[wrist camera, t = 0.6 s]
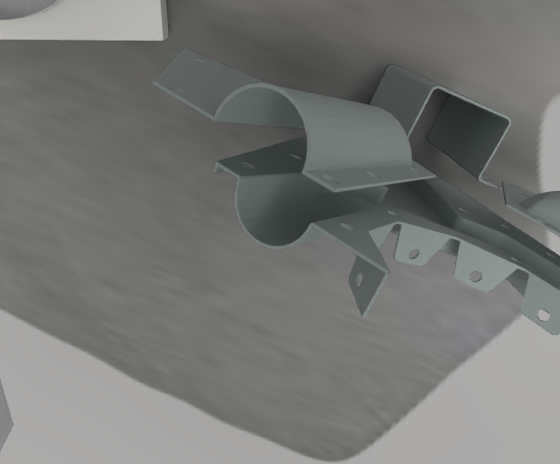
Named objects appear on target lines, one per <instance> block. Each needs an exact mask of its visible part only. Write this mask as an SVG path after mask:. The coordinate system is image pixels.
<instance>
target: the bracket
mask: <svg viewBox="0 0 560 464" xmlns="http://www.w3.org/2000/svg"><path fill="white" fill-rule="evenodd" d="M153 85H155V86H157V87H158V88H160V89H162V90H163V91H165V92H167V93H168V94H170V95H172V96H173V97H175V98H177V99H178V100H180V101H182V102H183V103H185V104H187V105H188V106H190V107H192V108H193V109H195V110H197V111H198V112H200V113H202V114H203V115H205V116H207V117H208V118H210V119H212V120H213V121H215V122H226V123H238V124H250V125H262V126H274V127H286V128H298V129H305V131H306V136H303V137H300V138H296V139H293V140H289V141H286V142H282V143H279V144H275V145H272V146H269V147H265V148H262V149H258V150H255V151H251V152H248V153H244V154H241V155H237V156H234V157H230V158H227V159H224V160H220V161H217V162H216V165H215V167H214V170H213V173H214V174H216V173H219V172H222V171H227V172H229V173H230V174H232V175H233V176H235V177H236V178H238V180H237V184H236V187H235V196H234V201H235V210H236V214H237V217H238V219H239V222H240V224H241V227H242V228H243V229H244V231H245V232H246V233H247V235H248V236H249V237H250V238H251V239H252V240H254V241H255V242H256V243H258V244H260V245H261V246H263V247H266V248H269V249H277V250H278V249H286V248H289V247H293V246H296V245H299V244H303V243H306V242H309V241H312V240H316V239H319V238H322V237H326V236H328V237H330V238H332V239H333V240H335V241H336V242H338V243H339V244H341V245H342V246H344V247H346V248H347V249H349V250H350V251H352V252H353V253H355V254H357V258H356V260H355V263H354V266H353V268H352V271H351V274H350V277H349V284H350V286H351V289H352V292H353V294H354V297H355V300H356V302H357V305H358V308H359V310H360V313H361V316H362V317H364V318H365V317H366V315H367V313H368V312H369V310H370V308H371V306H372V305H373V303H374V301H375V299H376V297H377V296H378V294H379V292H380V290H381V288H382V287H383V285H384V283H385V281H386V279H387V278H388V276H389V274H390V270H389V269H388V267H387V265H386V263H385V261H384V259H383V257H382V256H381V254H380V252H379V248H380V247H381V245H382V243H383V242H384V240H385V239H386V237H387V236H388V234H389V232H392V233H394V234H397V235H398V238H397V242H396V247H395V251H394V255H393V257H394V259H395V260H396V261H399V262H403V263H408V264H412V265H416V266H423V265H425V264H426V263H427V262H428V261H429V260H430V259H431V258H432V257H433V256H434V254H435V253H436V252H437V251H438V250H440V251H443V252H446V253H448V254H451V255H454V256H456V257H457V259H456V263H455V268H454V277H455V278H456V279H457V280H459V281H461V282H463V283H465V284H467V285H469V286H472V287H474V288H476V289H478V290H480V291H483V292H489V291H490V290H492V289H493V288H494V287H495V286H497V285H498V284H499V283H500V282H502V281H503V280H504V279H507V280H508V281H509V282H510V283H511V284H512V285H513V286H514V287H515V288H516V289H517V290H518V292H519V293H520V294H521V295H522V296H523V297H524V298H523V302H522V306H521V312H522V314H523V315H524V316H526V317H527V318H529V319H530V320H532V321H533V322H535V323H536V324H537V325H539V326H540V327H542V328H543V329H545V330H546V331H547V332H549V333H550V334H552V335H558V334H559V333H560V256H559V255H558V254H556V253H555V252H553V251H552V250H550V249H549V248H547V247H545V246H544V245H542V244H541V243H539V242H538V241H536V240H535V239H533V238H532V237H530V236H529V235H527V234H526V233H524V232H522V231H521V230H519V229H518V228H516V227H515V226H513V225H512V224H510V223H509V222H507V221H506V220H504V219H503V218H501V217H500V216H498V215H496V214H495V213H493V212H492V211H490V210H489V209H487V208H486V207H484V206H483V205H481V204H480V203H478V202H477V201H475V200H473V199H472V198H470V197H469V196H467V195H466V194H464V193H463V192H461V191H460V190H458V189H457V188H455V187H454V186H452V185H451V184H449V183H447V182H446V181H444V180H443V179H441V178H440V177H438V176H436V175H435V174H434V173H432V172H431V171H429V170H427V169H426V168H424V167H423V166H421V165H420V164H418V163H416V162H415V161H413V160H412V153H411V147H410V143H409V141H408V138H409V136H410V134H411V132H412V130H413V128H414V126H415V125H416V123H417V121H418V119H419V117H420V115H421V113H422V111H423V109H424V107H425V105H426V103H427V102H428V100H429V98H430V96H431V94H432V92H433V90H435V89H438V88H439V89H441V90H443V91H445V92H448V93H449V94H450V95H449V96H448V98H447V100H446V102H445V104H444V106H443V108H442V110H441V112H440V114H439V116H438V118H437V120H436V121H435V123H434V125H433V127H432V129H431V131H430V133H429V135H428V137H427V138H428V141H430V142H431V143H432V144H433V145H435V146H436V147H437V148H438V149H440V150H441V151H442V152H443V153H445V154H446V155H447V156H449V157H450V158H451V159H452V160H454V161H455V162H456V163H457V164H459V165H460V166H461V167H462V168H464V169H465V170H466V171H468V172H469V173H470V174H471V175H473V176H474V177H475V178H476V179H478V180H479V181H480V182H482V183H485V184H487V185H490V186H492V187H494V188H497V189H499V188H500V187H499V186H497V185H496V184H495V183H493V182H492V181H491V180H489V179H488V178H487V177H485V176H484V175H483V173H484V171H485V169H486V167H487V166H488V164H489V162H490V160H491V159H492V157H493V155H494V153H495V152H496V150H497V148H498V146H499V145H500V143H501V141H502V140H503V138H504V136H505V134H506V133H507V131H508V129H509V127H510V126H511V119H510V118H509V117H507V116H505V115H503V114H501V113H499V112H497V111H494V110H492V109H490V108H488V107H486V106H484V105H482V104H480V103H478V102H475V101H473V100H471V99H469V98H467V97H465V96H463V95H461V94H458V93H456V92H454V91H452V90H450V89H448V88H446V87H443V86H441V85H439V84H437V83H434V82H432V81H430V80H428V79H425V78H423V77H421V76H419V75H416V74H414V73H412V72H410V71H407V70H405V69H403V68H401V67H399V66H396V65H394V64H391V65H389V66H388V67H387V69H386V71H385V73H384V75H383V77H382V79H381V81H380V83H379V85H378V87H377V89H376V91H375V94H374V96H373V98H372V100H371V102H370V104H369V105H367V104H363V103H359V102H354V101H349V100H344V99H339V98H334V97H329V96H325V95H320V94H315V93H310V92H305V91H300V90H295V89H290V88H285V87H280V86H275V85H272V84H269V83H267V82H265V81H262V80H260V79H257V78H255V77H253V76H250V75H248V74H245V73H243V72H240V71H238V70H236V69H233V68H231V67H228V66H226V65H224V64H221V63H219V62H216V61H214V60H212V59H209V58H207V57H204V56H202V55H200V54H197V53H195V52H192V51H190V50H188V49H185V48H184V49H183V50H182V51H181V52H180V53H179V54H178V55H177V56H176V57H175V58H174V60H173V61H172V62H171V63H170V64H169V65H168V66H167V67H166V68H165V69H164V70H163V72H162V73H161V74H160V75H159V76H158V77H157V78H156V79H155V80H154V82H153ZM294 157H295V158H294ZM244 165H246V166H249V167H250V168H248V167H246V166H244ZM502 187H503V193H504V199H505V205H506V206H507V207H508V208H510V209H512V210H514V211H515V212H517V213H519V214H521V215H522V216H524V217H526V218H528V219H529V220H531V221H533V222H535V223H536V224H538V225H540V226H542V227H543V228H545V229H547V230H549V231H550V232H552V233H554V234H556V235H558V236H559V237H560V191H554V192H546V193H541V194H537V195H536V194H534V193H531V192H529V191H526V190H524V189H522V188H519V187H517V186H514V185H512V184H510V183H507V182H505V181H502ZM349 229H350V230H352V231H349ZM414 249H417V250H418V253H417V255H416V256H415V257H413V258H409V257H408V255H409V253H410V251H412V250H414ZM473 271H478V272H480V273H481V275H482V276H481V279H479V280H478V281H471V279H470V278H469V276H470V273H472V272H473ZM362 274H363V279H362V282H361V285H360V286H359V287H358V282H359V279H360V277H361V275H362ZM541 309H542V310H544V311H545V312H547V313H548V314H550V318H549V320H548V321H542V320H540V319H539V317H538V316H537V315H538V311H539V310H541Z"/></svg>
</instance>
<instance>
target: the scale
mask: <svg viewBox="0 0 560 464" xmlns="http://www.w3.org/2000/svg"><path fill="white" fill-rule="evenodd" d="M168 37H169V34H168V20H167V5H166V0H61V1H60V2H59V3H58V4H56V5H54V6H53V7H51V8H49V9H47V10H45V11H43V12H40V13H38V14H35V15H32V16H28V17H23V18H18V19H11V20H0V39H10V40H143V41H163V40H165V39H166V38H168Z"/></svg>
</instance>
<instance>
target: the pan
mask: <svg viewBox="0 0 560 464" xmlns="http://www.w3.org/2000/svg"><path fill="white" fill-rule="evenodd" d="M60 1H61V0H0V20H11V19H18V18H23V17H28V16H32V15H35V14H38V13H40V12H43V11H45V10H47V9H49V8H51V7H53V6H54V5H56V4H58V3H59V2H60Z"/></svg>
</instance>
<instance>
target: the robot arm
mask: <svg viewBox="0 0 560 464" xmlns="http://www.w3.org/2000/svg"><path fill="white" fill-rule="evenodd" d="M12 427H13V421H12V418H11V415H10V411H9V407H8V404H7V401H6V397H5V394H4V390H3V387H2V384H1V380H0V451H1V449H2V447H3V445H4V443H5V441H6V439H7V437H8V435H9V433H10V431H11V429H12Z"/></svg>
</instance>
